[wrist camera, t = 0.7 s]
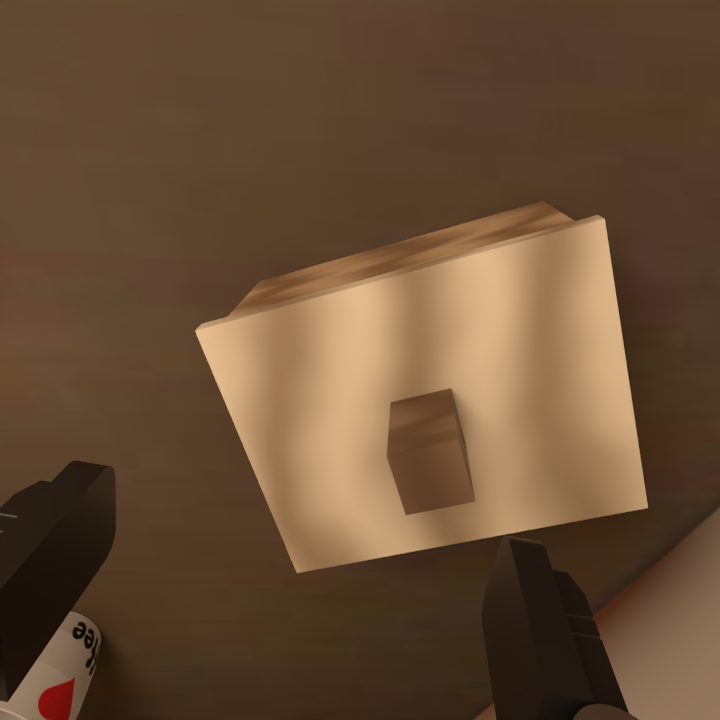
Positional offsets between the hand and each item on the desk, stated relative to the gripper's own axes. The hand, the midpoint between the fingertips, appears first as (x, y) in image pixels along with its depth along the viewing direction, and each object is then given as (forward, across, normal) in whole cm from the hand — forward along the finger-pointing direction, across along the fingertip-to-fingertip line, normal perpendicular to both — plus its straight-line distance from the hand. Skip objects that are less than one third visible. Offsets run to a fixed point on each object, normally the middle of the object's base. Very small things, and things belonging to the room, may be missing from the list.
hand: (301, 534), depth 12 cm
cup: (+27, +21, +37) cm, 50 cm away
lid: (+17, -4, +5) cm, 18 cm away
